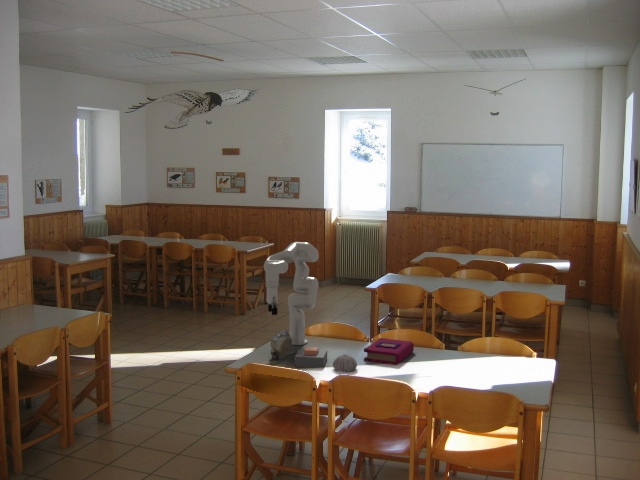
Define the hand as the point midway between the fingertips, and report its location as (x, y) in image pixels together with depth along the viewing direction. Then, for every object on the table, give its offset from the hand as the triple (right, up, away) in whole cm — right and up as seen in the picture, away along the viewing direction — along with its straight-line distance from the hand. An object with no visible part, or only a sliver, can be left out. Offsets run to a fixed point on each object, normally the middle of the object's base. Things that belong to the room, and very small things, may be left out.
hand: (272, 313), depth 384 cm
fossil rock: (+3, -26, +5) cm, 27 cm away
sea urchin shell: (+41, -29, -21) cm, 54 cm away
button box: (+22, -27, -8) cm, 36 cm away
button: (+22, -22, -9) cm, 32 cm away
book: (+67, -26, +3) cm, 72 cm away
